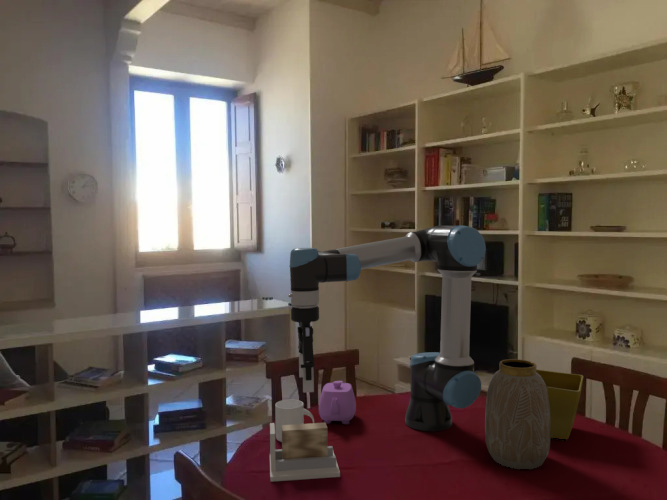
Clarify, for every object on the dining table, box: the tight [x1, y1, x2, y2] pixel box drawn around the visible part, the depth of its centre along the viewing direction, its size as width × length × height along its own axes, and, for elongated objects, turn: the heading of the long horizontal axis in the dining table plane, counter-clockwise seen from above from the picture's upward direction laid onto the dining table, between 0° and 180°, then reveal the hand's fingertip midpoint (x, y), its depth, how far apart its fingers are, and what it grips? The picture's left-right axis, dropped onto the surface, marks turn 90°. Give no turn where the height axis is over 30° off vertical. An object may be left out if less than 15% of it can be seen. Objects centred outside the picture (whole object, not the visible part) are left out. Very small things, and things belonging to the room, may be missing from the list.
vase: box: [484, 358, 552, 470], centre depth 152 cm, size 17×17×27 cm
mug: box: [274, 398, 315, 443], centre depth 168 cm, size 9×12×11 cm
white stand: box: [269, 422, 341, 483], centre depth 149 cm, size 18×14×11 cm
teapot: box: [318, 380, 357, 425], centre depth 184 cm, size 20×12×13 cm, turn 174°
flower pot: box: [536, 369, 584, 440], centre depth 173 cm, size 19×19×17 cm
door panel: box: [281, 422, 329, 459], centre depth 149 cm, size 12×4×10 cm, turn 98°
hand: (306, 384), depth 148 cm, fingers open, 13 cm apart
